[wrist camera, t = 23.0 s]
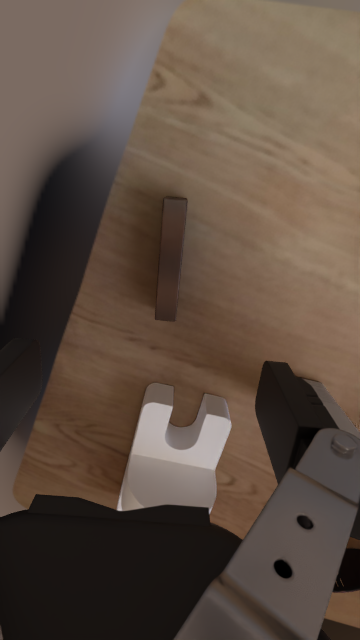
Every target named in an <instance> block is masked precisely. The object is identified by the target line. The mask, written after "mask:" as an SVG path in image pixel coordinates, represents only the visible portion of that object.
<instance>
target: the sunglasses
mask: <svg viewBox="0 0 360 640" xmlns="http://www.w3.org/2000/svg"><path fill="white" fill-rule="evenodd" d="M340 578H341V581H342V583H343V585H344V586H343V585H342V583H341V581H340ZM336 582H337V584H338V586H337V584H336ZM358 590H360V549H345V552H344V556H343V559H342V562H341V565H340V568H339V571H338V575H337V578H336V581H335V584H334V587H333V591H332V592H334V593H345V592H354V591H358Z"/></svg>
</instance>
